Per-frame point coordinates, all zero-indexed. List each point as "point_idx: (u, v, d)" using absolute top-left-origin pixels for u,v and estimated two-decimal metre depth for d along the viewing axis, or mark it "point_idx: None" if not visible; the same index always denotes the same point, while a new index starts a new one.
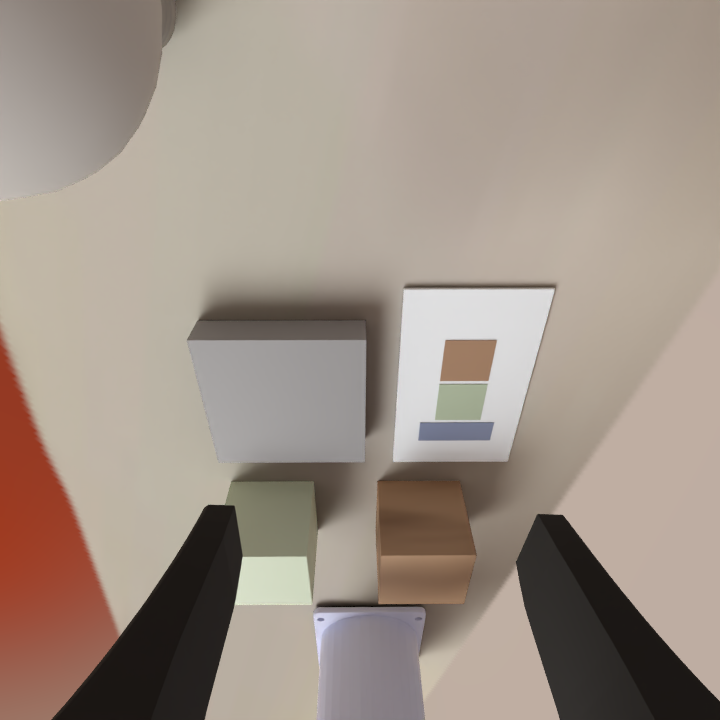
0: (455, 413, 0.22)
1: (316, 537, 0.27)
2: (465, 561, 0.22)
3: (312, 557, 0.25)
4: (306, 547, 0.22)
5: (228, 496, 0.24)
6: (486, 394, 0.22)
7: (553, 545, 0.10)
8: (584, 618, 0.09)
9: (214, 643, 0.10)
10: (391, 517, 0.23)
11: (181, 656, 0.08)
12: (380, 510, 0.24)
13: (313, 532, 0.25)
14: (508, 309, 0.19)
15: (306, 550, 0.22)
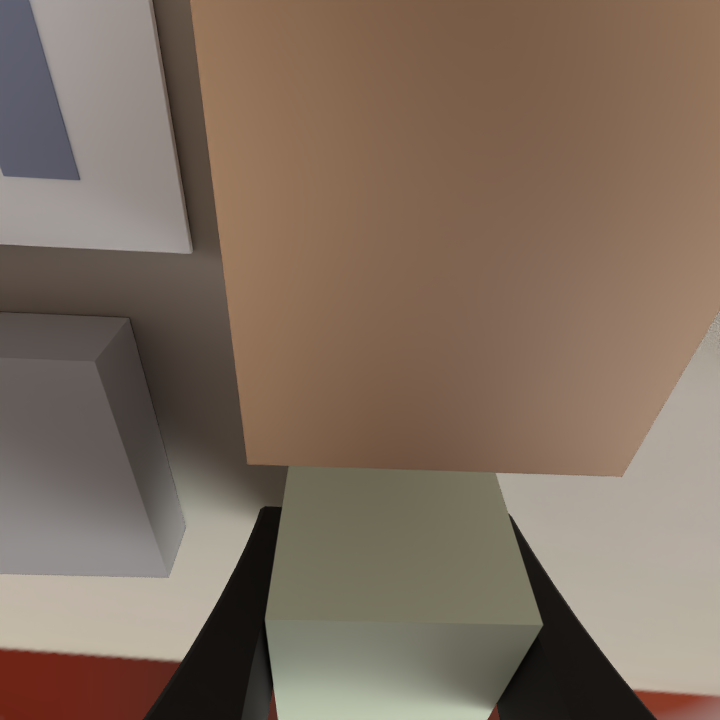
0: None
1: None
2: (277, 53, 0.03)
3: (422, 535, 0.09)
4: (269, 592, 0.08)
5: None
6: None
7: None
8: None
9: None
10: None
11: (257, 657, 0.08)
12: None
13: (390, 486, 0.10)
14: None
15: (270, 599, 0.08)
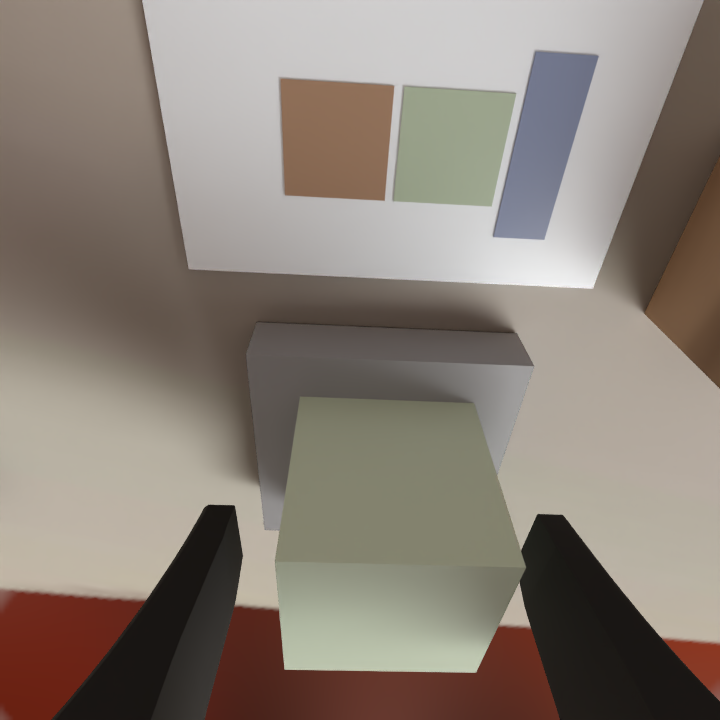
0: (483, 158, 0.10)
1: (461, 426, 0.11)
2: None
3: (417, 492, 0.10)
4: (278, 539, 0.09)
5: None
6: (439, 83, 0.09)
7: (553, 545, 0.10)
8: (584, 618, 0.09)
9: (214, 643, 0.10)
10: (709, 341, 0.10)
11: (181, 656, 0.08)
12: (686, 352, 0.11)
13: (388, 451, 0.10)
14: (199, 59, 0.09)
15: (279, 545, 0.08)
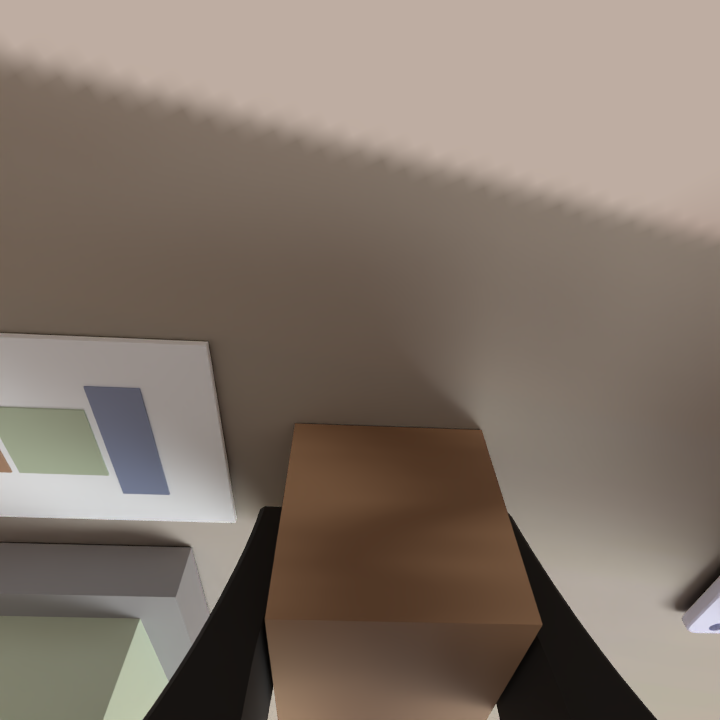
0: (82, 447, 0.11)
1: (109, 651, 0.13)
2: (299, 632, 0.08)
3: None
4: None
5: None
6: (13, 404, 0.10)
7: None
8: None
9: None
10: None
11: (257, 657, 0.08)
12: None
13: (21, 688, 0.12)
14: None
15: None
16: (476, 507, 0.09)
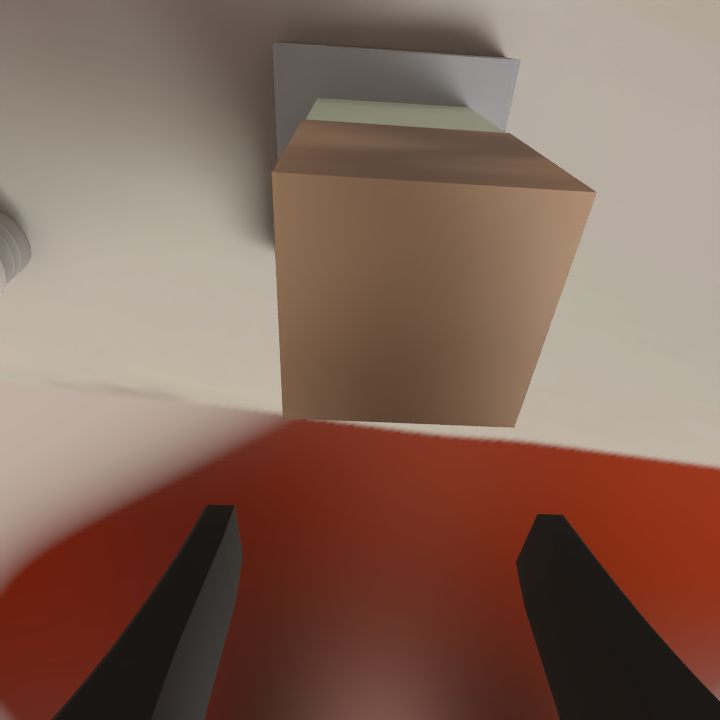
0: None
1: (457, 110, 0.13)
2: (311, 207, 0.07)
3: (420, 119, 0.11)
4: None
5: None
6: None
7: (553, 545, 0.10)
8: (584, 618, 0.09)
9: (214, 643, 0.10)
10: None
11: (181, 656, 0.08)
12: None
13: (395, 111, 0.12)
14: None
15: None
16: (510, 154, 0.08)
